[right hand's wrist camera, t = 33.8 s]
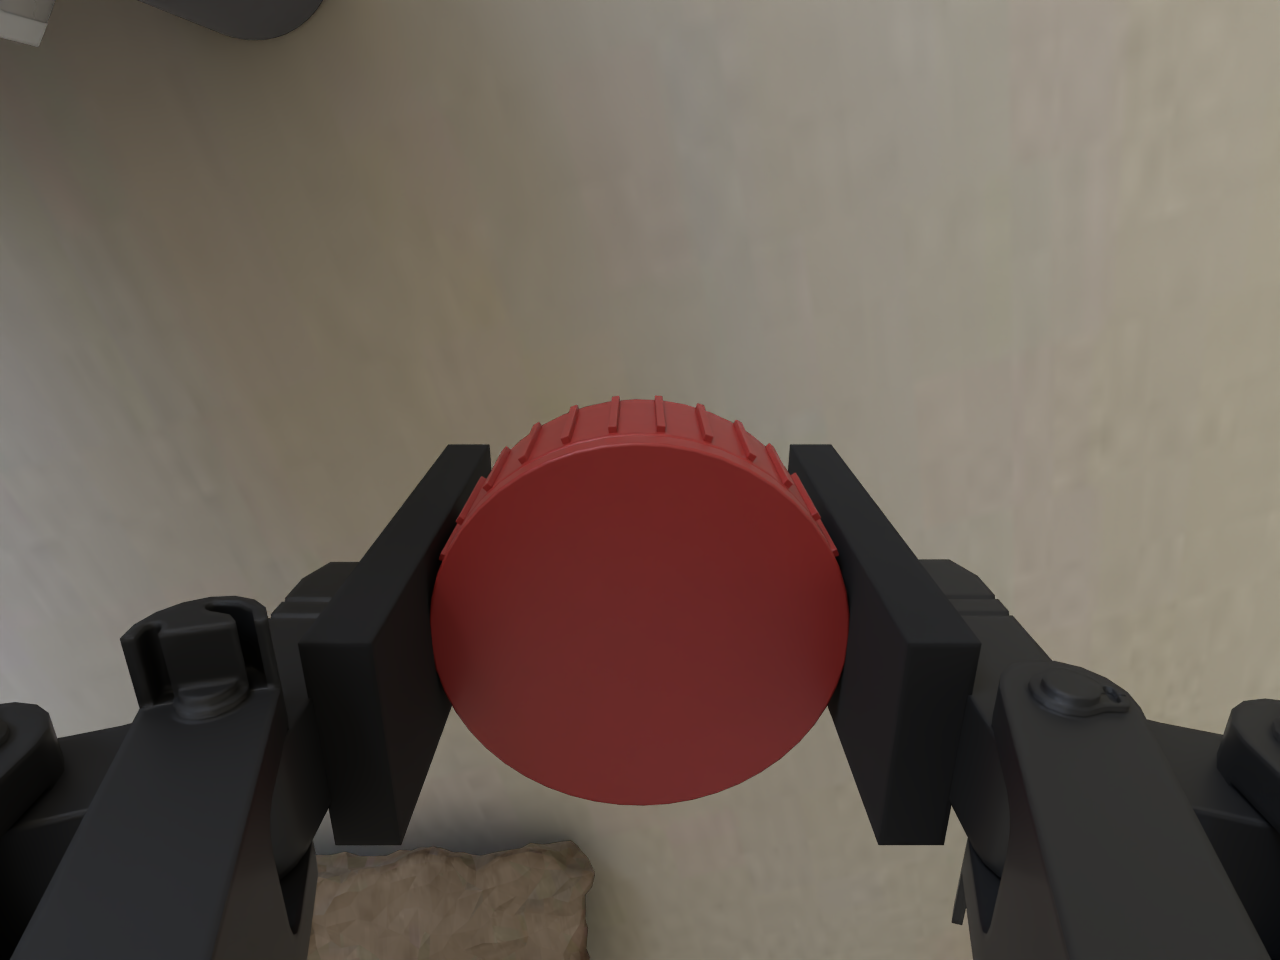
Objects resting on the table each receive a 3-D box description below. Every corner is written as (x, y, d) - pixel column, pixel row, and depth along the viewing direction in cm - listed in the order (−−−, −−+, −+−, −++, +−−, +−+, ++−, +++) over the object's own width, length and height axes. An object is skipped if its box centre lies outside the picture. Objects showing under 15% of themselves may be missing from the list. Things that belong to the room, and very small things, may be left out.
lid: (528, 748, 13) (508, 846, 11) (401, 451, 11) (352, 507, 9) (850, 672, 13) (889, 761, 11) (776, 345, 11) (806, 381, 9)
